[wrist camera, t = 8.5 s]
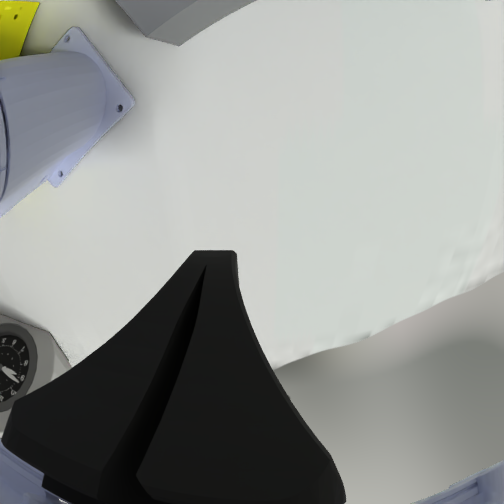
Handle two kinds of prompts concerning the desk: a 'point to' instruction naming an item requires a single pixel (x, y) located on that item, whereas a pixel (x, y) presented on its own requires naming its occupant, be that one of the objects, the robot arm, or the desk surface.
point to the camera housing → (177, 16)
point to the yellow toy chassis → (14, 26)
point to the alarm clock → (25, 362)
